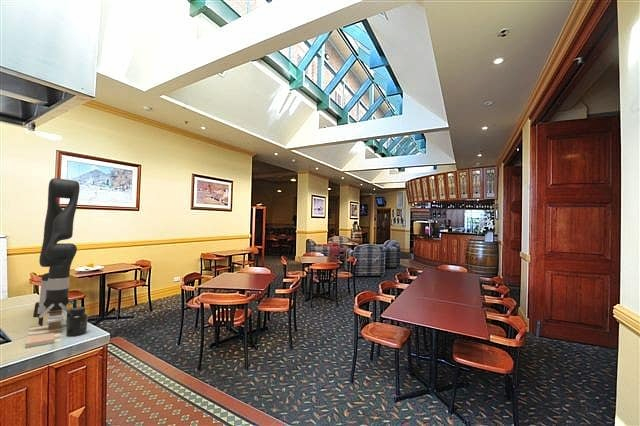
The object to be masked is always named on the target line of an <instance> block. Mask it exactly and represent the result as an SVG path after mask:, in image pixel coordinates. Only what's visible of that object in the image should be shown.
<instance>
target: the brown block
mask: <svg viewBox="0 0 640 426" xmlns="http://www.w3.org/2000/svg"><path fill="white" fill-rule="evenodd" d="M48 314H49V315H48V316H47V321H46V323H47V324H49V325H48V330H53V329H59V328H60V329H61V326H62V322H63V321H64V314H63V309H62V310H60V311H52V312H50V313H48Z"/></svg>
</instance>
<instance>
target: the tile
mask: <svg viewBox="0 0 640 426" xmlns="http://www.w3.org/2000/svg"><path fill="white" fill-rule="evenodd" d="M25 339H26V340H25V345H24V348H25V349H28V348H33V347H39V346H45V345H49V344H51V345H52V344H54V343H55V342H54V333H49V334H43V335H37V336H31V337H28V336H27V337H26V338H25Z"/></svg>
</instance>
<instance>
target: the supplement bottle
mask: <svg viewBox="0 0 640 426" xmlns="http://www.w3.org/2000/svg"><path fill="white" fill-rule="evenodd" d="M70 310H71V313H70V314H71V315H70V316H69V317H68V318H67V317H66V319H67V323H66V329H65V336H66V337H70V338H71V337H72V338H74V337H75V338H76V337H79V336H82V335H85V334H87V331H88V317H89V316H88V314H87V313H86V307H85V306H78V307H77V308H73V307H72V308H71V309H70Z"/></svg>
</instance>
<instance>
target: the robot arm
mask: <svg viewBox="0 0 640 426" xmlns="http://www.w3.org/2000/svg"><path fill="white" fill-rule="evenodd" d="M79 196H80V183H79V181H77V180H73V179H65V178H64V179H63V178H51V179H50V180H49V183H48V189H47V210H46V214H45V221H44V226H43V227H44V228H43V229H44V230H43V238H42V239H43V240H42V245H41V249H40V254H39V260H38V261H39V265H40V267H42V268H48V272H47V273H46V272H45V273H44V274H42V275H41V281H40V282H41V283H40V293H39V301H37V302H35V304H34V309H33V315H32V316H33V318H38V325H40V326H43V325H44V316H45V315H46V314H50V312H52V311H60V310H62V311H64V312H66V320H65V321H66V324H67V318H68V317H69V316H70V315H71V314H70V313H71V309H70V308H69V307H68V306H67V305H68V304H69V303H70V304H71V305H72V309H73V308H77V304H78V302H77V301H78V299H77V298H76V297H73V298H70V299H69V290H70V274H71V273H70V272H71V267H72V266H71V265H72V263H73V261H74V259H75V256H76V254H77V251H78V248H77V246H76V244H74V243H60V241H65V240H69V239H70V240H71V238H72V237H73V233H74V231H73V230H74V222H75V215H76V211H77V208H78V207H77V206H78V202H79V198H80V197H79ZM58 198H59V199H68V200H69V201H68V203H67V204H66V206H65V207H64V208H62V206H61V205H60V204H59V201H58ZM38 325H37V326H38Z"/></svg>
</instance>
